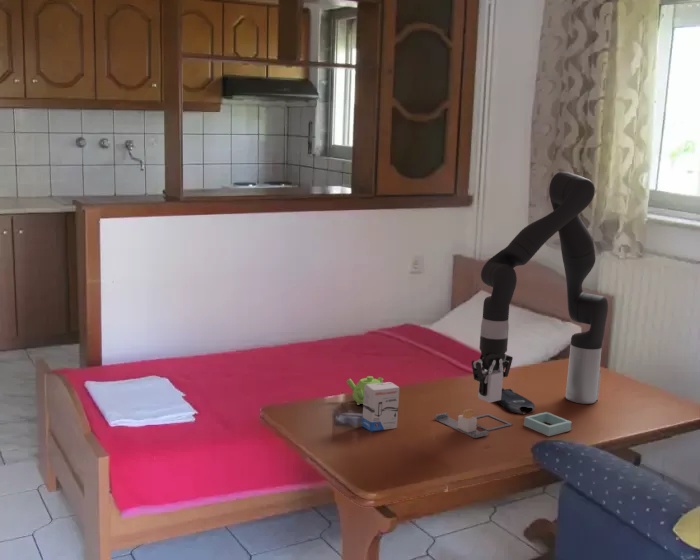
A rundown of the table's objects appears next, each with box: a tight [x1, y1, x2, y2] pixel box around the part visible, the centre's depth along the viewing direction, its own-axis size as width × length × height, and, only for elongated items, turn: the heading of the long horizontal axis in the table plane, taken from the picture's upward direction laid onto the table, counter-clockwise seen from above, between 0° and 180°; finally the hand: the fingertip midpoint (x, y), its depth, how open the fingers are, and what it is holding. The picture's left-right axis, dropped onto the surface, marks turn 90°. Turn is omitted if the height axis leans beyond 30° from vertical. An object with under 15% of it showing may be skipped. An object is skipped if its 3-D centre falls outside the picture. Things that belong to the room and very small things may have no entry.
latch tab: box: [457, 408, 478, 432], centre depth 219 cm, size 3×4×6 cm
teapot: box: [346, 375, 384, 404], centre depth 236 cm, size 11×11×8 cm
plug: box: [477, 370, 504, 404], centre depth 225 cm, size 4×4×9 cm
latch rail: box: [434, 411, 489, 439], centre depth 222 cm, size 4×17×1 cm, turn 35°
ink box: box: [361, 381, 400, 433], centre depth 218 cm, size 9×5×12 cm, turn 117°
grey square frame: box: [474, 413, 513, 432], centre depth 227 cm, size 10×10×1 cm
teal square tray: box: [523, 411, 573, 437], centre depth 224 cm, size 9×9×2 cm
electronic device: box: [495, 387, 536, 415], centre depth 242 cm, size 9×6×15 cm
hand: (489, 393), depth 226 cm, fingers closed on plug, 4 cm apart
